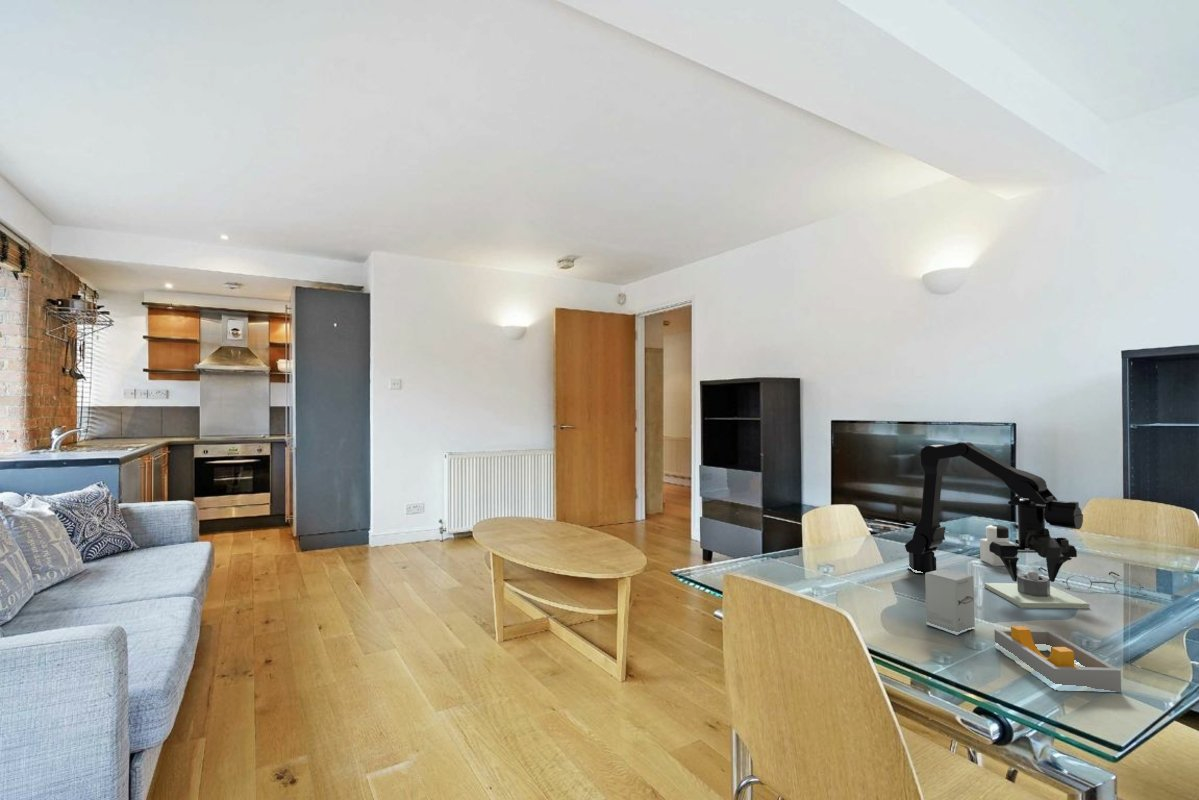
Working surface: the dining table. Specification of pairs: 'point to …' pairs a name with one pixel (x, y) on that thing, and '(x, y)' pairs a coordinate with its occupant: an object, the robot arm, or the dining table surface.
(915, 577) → the dining table surface
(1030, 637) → the pipe clamp
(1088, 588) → the eyeglasses
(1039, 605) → the post board
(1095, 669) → the parts frame
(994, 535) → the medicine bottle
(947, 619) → the supplement box
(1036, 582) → the hub ring
